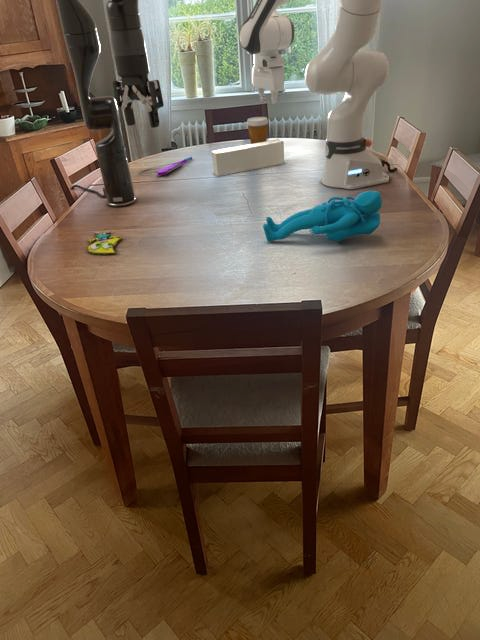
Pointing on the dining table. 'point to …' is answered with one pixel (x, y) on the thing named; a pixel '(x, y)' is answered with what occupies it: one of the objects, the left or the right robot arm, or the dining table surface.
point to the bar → (248, 157)
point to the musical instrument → (168, 167)
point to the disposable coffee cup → (257, 129)
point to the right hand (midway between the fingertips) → (268, 102)
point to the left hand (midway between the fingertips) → (143, 126)
